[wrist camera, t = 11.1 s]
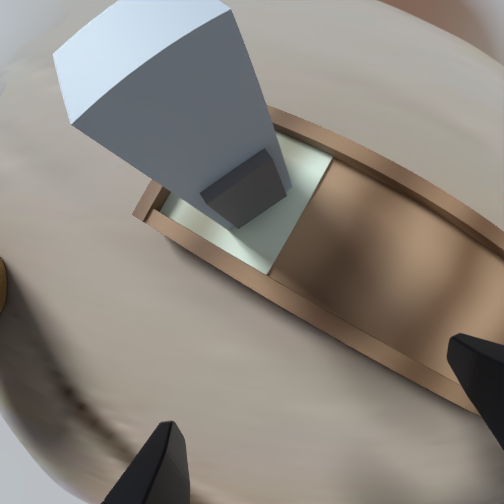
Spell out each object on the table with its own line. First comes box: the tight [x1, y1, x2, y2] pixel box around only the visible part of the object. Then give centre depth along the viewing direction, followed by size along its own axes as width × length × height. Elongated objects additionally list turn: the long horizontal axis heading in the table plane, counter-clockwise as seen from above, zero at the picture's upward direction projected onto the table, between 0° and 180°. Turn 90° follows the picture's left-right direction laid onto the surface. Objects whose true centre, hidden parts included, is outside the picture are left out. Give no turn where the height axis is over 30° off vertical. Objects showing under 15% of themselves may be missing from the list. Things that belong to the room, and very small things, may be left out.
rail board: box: [132, 105, 504, 417], centre depth 17 cm, size 26×10×3 cm, turn 59°
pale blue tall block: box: [53, 0, 292, 231], centre depth 12 cm, size 5×4×13 cm
